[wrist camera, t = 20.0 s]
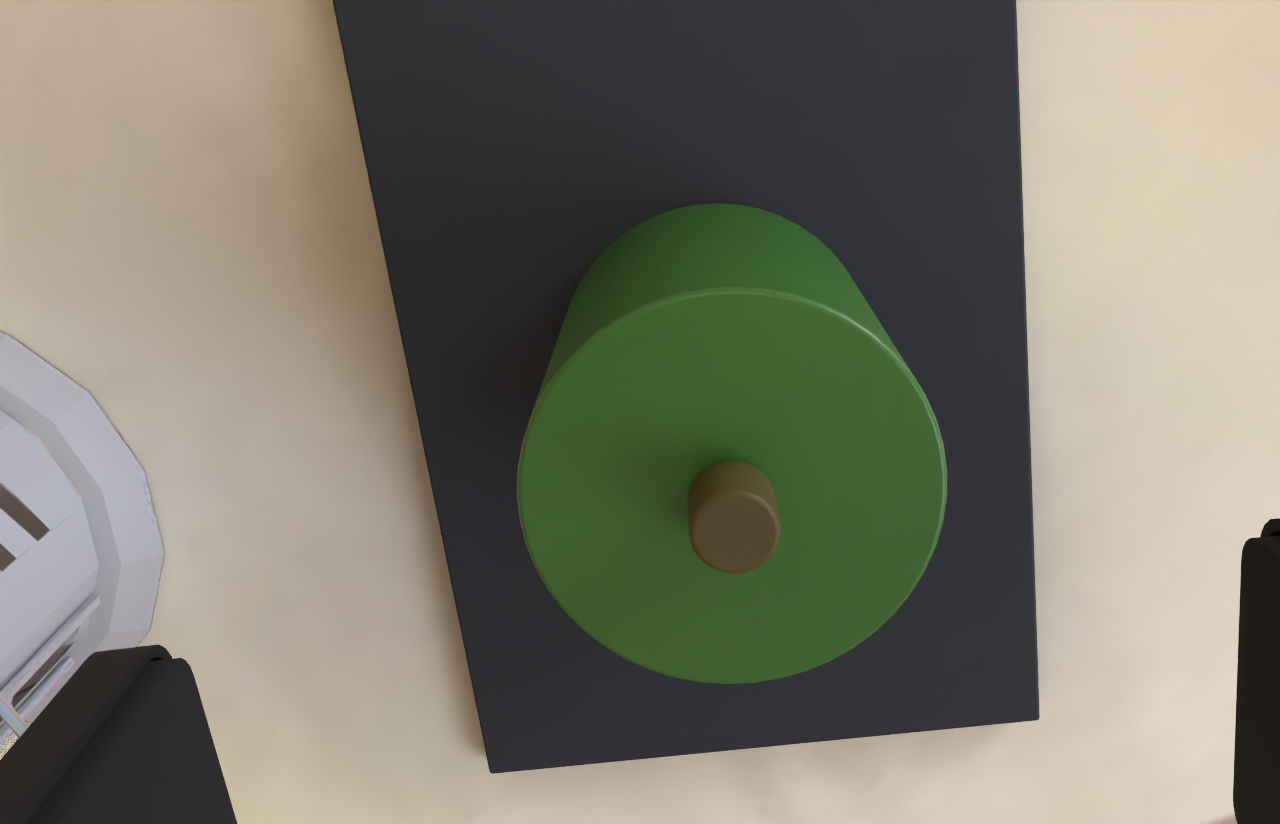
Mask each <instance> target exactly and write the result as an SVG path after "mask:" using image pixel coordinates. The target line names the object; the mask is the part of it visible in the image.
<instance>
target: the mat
mask: <svg viewBox="0 0 1280 824" xmlns="http://www.w3.org/2000/svg"><path fill="white" fill-rule="evenodd" d="M333 5H334V10H335V15H336V20H337V25H338V30H339V35H340V39H341V44H342V49H343V54H344V59H345V64H346V69H347V74H348V79H349V84H350V88H351V93H352V98H353V103H354V108H355V113H356V118H357V123H358V128H359V133H360V138H361V142H362V147H363V152H364V157H365V162H366V167H367V172H368V177H369V182H370V187H371V192H372V196H373V201H374V206H375V211H376V216H377V221H378V226H379V231H380V236H381V241H382V245H383V250H384V255H385V260H386V265H387V270H388V275H389V280H390V285H391V290H392V295H393V299H394V304H395V309H396V314H397V319H398V324H399V329H400V334H401V339H402V344H403V348H404V353H405V358H406V363H407V368H408V373H409V378H410V383H411V388H412V393H413V398H414V402H415V407H416V412H417V417H418V422H419V427H420V432H421V437H422V442H423V447H424V452H425V456H426V461H427V466H428V471H429V476H430V481H431V486H432V491H433V496H434V501H435V505H436V510H437V515H438V520H439V525H440V530H441V535H442V540H443V545H444V550H445V555H446V559H447V564H448V569H449V574H450V579H451V584H452V589H453V594H454V599H455V604H456V608H457V613H458V618H459V623H460V628H461V633H462V638H463V643H464V648H465V653H466V658H467V662H468V667H469V672H470V677H471V682H472V687H473V692H474V697H475V702H476V707H477V712H478V716H479V721H480V726H481V731H482V736H483V741H484V746H485V751H486V756H487V761H488V765H489V770H490V772H491V773H503V772H513V771H523V770H533V769H543V768H554V767H564V766H574V765H584V764H594V763H605V762H615V761H625V760H635V759H645V758H656V757H666V756H676V755H686V754H696V753H707V752H717V751H727V750H737V749H747V748H758V747H768V746H778V745H788V744H798V743H809V742H819V741H829V740H839V739H849V738H860V737H870V736H880V735H890V734H900V733H911V732H921V731H931V730H941V729H951V728H962V727H972V726H982V725H992V724H1002V723H1013V722H1023V721H1033V720H1038V719H1039V689H1038V658H1037V628H1036V597H1035V566H1034V536H1033V505H1032V474H1031V444H1030V413H1029V382H1028V352H1027V321H1026V290H1025V260H1024V229H1023V198H1022V168H1021V137H1020V106H1019V76H1018V45H1017V14H1016V0H333ZM713 203H723V204H738V205H744V206H749V207H754V208H759V209H762V210H765V211H768V212H771V213H774V214H777V215H780V216H782V217H784V218H786V219H788V220H790V221H792V222H794V223H796V224H798V225H799V226H801V227H802V228H804V229H805V230H807V231H808V232H810V233H811V234H813V235H814V236H816V237H817V238H818V239H819V240H820V241H821V242H822V243H823V244H824V245H826V246H827V247H828V248H829V249H830V250H831V251H832V252H833V253H834V255H835V256H836V257H837V258H838V259H839V261H840V262H841V263H842V264H843V265H844V267H845V268H846V270H847V271H848V273H849V275H850V276H851V278H852V279H853V281H854V282H855V284H856V286H857V287H858V289H859V290H860V292H861V294H862V295H863V297H864V298H865V300H866V301H867V303H868V305H869V306H870V308H871V309H872V311H873V312H874V314H875V316H876V317H877V319H878V320H879V322H880V323H881V325H882V327H883V328H884V330H885V331H886V333H887V335H888V336H889V338H890V339H891V341H892V342H893V344H894V346H895V347H896V349H897V350H898V352H899V353H900V355H901V357H902V358H903V360H904V361H905V363H906V364H907V366H908V368H909V369H910V371H911V372H912V374H913V376H914V377H915V379H916V380H917V382H918V384H919V385H920V387H921V388H922V390H923V392H924V393H925V395H926V397H927V399H928V401H929V404H930V406H931V408H932V410H933V413H934V415H935V417H936V419H937V423H938V427H939V430H940V434H941V437H942V441H943V444H944V451H945V459H946V467H947V499H946V505H945V512H944V518H943V524H942V527H941V530H940V534H939V537H938V540H937V544H936V547H935V550H934V552H933V554H932V556H931V558H930V560H929V563H928V565H927V567H926V569H925V571H924V573H923V575H922V576H921V578H920V579H919V581H918V583H917V584H916V586H915V587H914V589H913V590H912V592H911V594H910V595H909V596H908V598H907V599H906V600H905V601H904V602H903V604H902V605H901V606H900V607H899V608H898V610H897V611H896V612H895V613H894V614H893V616H891V617H890V618H889V619H888V620H887V621H886V622H885V623H884V624H883V625H882V626H881V627H880V628H879V629H878V630H876V631H875V632H874V633H873V634H872V635H870V636H869V637H868V638H866V639H865V640H864V641H862V642H861V643H859V644H858V645H857V646H855V647H854V648H852V649H851V650H849V651H847V652H845V653H844V654H842V655H840V656H838V657H836V658H835V659H833V660H831V661H829V662H827V663H824V664H822V665H819V666H817V667H814V668H812V669H810V670H807V671H805V672H801V673H798V674H794V675H790V676H787V677H783V678H780V679H774V680H768V681H761V682H755V683H738V684H719V683H705V682H697V681H691V680H686V679H681V678H675V677H672V676H668V675H665V674H662V673H659V672H656V671H652V670H649V669H647V668H645V667H642V666H640V665H638V664H636V663H633V662H631V661H629V660H627V659H625V658H623V657H621V656H620V655H618V654H616V653H615V652H613V651H611V650H610V649H608V648H606V647H605V646H603V645H602V644H601V643H599V642H598V641H597V640H595V639H594V638H593V637H592V636H590V635H589V634H588V633H586V632H585V631H584V630H583V629H582V628H581V627H580V626H579V625H578V624H577V623H576V622H575V621H574V620H573V619H572V618H571V617H570V616H569V615H568V614H567V613H566V612H565V611H564V610H563V609H562V607H561V606H560V605H559V603H558V602H557V601H556V600H555V598H554V597H553V596H552V594H551V593H550V592H549V590H548V589H547V587H546V585H545V583H544V582H543V580H542V578H541V576H540V575H539V573H538V571H537V570H536V568H535V565H534V563H533V560H532V558H531V555H530V553H529V550H528V548H527V545H526V542H525V538H524V534H523V530H522V526H521V522H520V517H519V508H518V499H517V478H518V464H519V459H520V453H521V447H522V442H523V439H524V436H525V433H526V429H527V426H528V423H529V420H530V417H531V414H532V411H533V409H534V406H535V403H536V400H537V397H538V394H539V391H540V388H541V385H542V383H543V380H544V377H545V374H546V371H547V368H548V365H549V362H550V359H551V357H552V354H553V351H554V348H555V345H556V342H557V339H558V336H559V334H560V331H561V328H562V325H563V322H564V319H565V316H566V313H567V310H568V308H569V305H570V302H571V299H572V297H573V295H574V293H575V291H576V289H577V287H578V285H579V283H580V281H581V280H582V278H583V276H584V275H585V273H586V272H587V270H588V269H589V267H590V266H591V265H592V263H593V262H594V261H595V260H596V259H597V258H598V257H599V255H600V254H601V253H602V252H603V251H604V250H605V249H606V248H607V247H608V246H609V245H611V244H612V243H613V242H614V241H615V240H616V239H617V238H619V237H620V236H621V235H623V234H624V233H626V232H627V231H629V230H630V229H632V228H633V227H635V226H636V225H638V224H640V223H642V222H644V221H646V220H648V219H650V218H652V217H654V216H656V215H659V214H662V213H665V212H668V211H671V210H674V209H677V208H682V207H687V206H692V205H697V204H713Z"/></svg>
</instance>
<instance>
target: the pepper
mask: <svg viewBox="0 0 1280 824" xmlns="http://www.w3.org/2000/svg"><path fill="white" fill-rule="evenodd" d="M517 499H518V508H519V517H520V522H521V526H522V530H523V534H524V538H525V542H526V545H527V548H528V550H529V553H530V555H531V558H532V560H533V563H534V565H535V568H536V570H537V571H538V573H539V575H540V576H541V578H542V580H543V582H544V583H545V585H546V587H547V589H548V590H549V592H550V593H551V594H552V596H553V597H554V598H555V600H556V601H557V602H558V603H559V605H560V606H561V607H562V609H563V610H564V611H565V612H566V613H567V614H568V615H569V616H570V617H571V618H572V619H573V620H574V621H575V622H576V623H577V624H578V625H579V626H580V627H581V628H582V629H583V630H584V631H585V632H586V633H588V634H589V635H590V636H592V637H593V638H594V639H595V640H597V641H598V642H599V643H601V644H602V645H603V646H605V647H606V648H608V649H610V650H611V651H613V652H615V653H616V654H618V655H620V656H621V657H623V658H625V659H627V660H629V661H631V662H633V663H636V664H638V665H640V666H642V667H645V668H647V669H649V670H652V671H656V672H659V673H662V674H665V675H668V676H672V677H675V678H681V679H686V680H691V681H697V682H705V683H719V684H738V683H755V682H761V681H768V680H774V679H780V678H783V677H787V676H790V675H794V674H798V673H801V672H805V671H807V670H810V669H812V668H814V667H817V666H819V665H822V664H824V663H827V662H829V661H831V660H833V659H835V658H836V657H838V656H840V655H842V654H844V653H845V652H847V651H849V650H851V649H852V648H854V647H855V646H857V645H858V644H859V643H861V642H862V641H864V640H865V639H866V638H868V637H869V636H870V635H872V634H873V633H874V632H875V631H876V630H878V629H879V628H880V627H881V626H882V625H883V624H884V623H885V622H886V621H887V620H888V619H889V618H890V617H891V616H893V614H894V613H895V612H896V611H897V610H898V608H899V607H900V606H901V605H902V604H903V602H904V601H905V600H906V599H907V598H908V596H909V595H910V594H911V592H912V590H913V589H914V587H915V586H916V584H917V583H918V581H919V579H920V578H921V576H922V575H923V573H924V571H925V569H926V567H927V565H928V563H929V560H930V558H931V556H932V554H933V552H934V550H935V547H936V544H937V540H938V537H939V534H940V530H941V527H942V524H943V518H944V512H945V505H946V499H947V467H946V459H945V451H944V444H943V441H942V437H941V434H940V430H939V427H938V423H937V419H936V417H935V415H934V413H933V410H932V408H931V406H930V404H929V401H928V399H927V397H926V395H925V393H924V392H923V390H922V388H921V387H920V385H919V384H918V382H917V380H916V379H915V377H914V376H913V374H912V372H911V371H910V369H909V368H908V366H907V364H906V363H905V361H904V360H903V358H902V357H901V355H900V353H899V352H898V350H897V349H896V347H895V346H894V344H893V342H892V341H891V339H890V338H889V336H888V335H887V333H886V331H885V330H884V328H883V327H882V325H881V323H880V322H879V320H878V319H877V317H876V316H875V314H874V312H873V311H872V309H871V308H870V306H869V305H868V303H867V301H866V300H865V298H864V297H863V295H862V294H861V292H860V290H859V289H858V287H857V286H856V284H855V282H854V281H853V279H852V278H851V276H850V275H849V273H848V271H847V270H846V268H845V267H844V265H843V264H842V263H841V262H840V261H839V259H838V258H837V257H836V256H835V255H834V253H833V252H832V251H831V250H830V249H829V248H828V247H827V246H826V245H824V244H823V243H822V242H821V241H820V240H819V239H818V238H817V237H816V236H814V235H813V234H811V233H810V232H808V231H807V230H805V229H804V228H802V227H801V226H799V225H798V224H796V223H794V222H792V221H790V220H788V219H786V218H784V217H782V216H780V215H777V214H774V213H771V212H768V211H765V210H762V209H759V208H754V207H749V206H744V205H738V204H723V203H713V204H697V205H692V206H687V207H682V208H677V209H674V210H671V211H668V212H665V213H662V214H659V215H656V216H654V217H652V218H650V219H648V220H646V221H644V222H642V223H640V224H638V225H636V226H635V227H633V228H632V229H630V230H629V231H627V232H626V233H624V234H623V235H621V236H620V237H619V238H617V239H616V240H615V241H614V242H613V243H612V244H611V245H609V246H608V247H607V248H606V249H605V250H604V251H603V252H602V253H601V254H600V255H599V257H598V258H597V259H596V260H595V261H594V262H593V263H592V265H591V266H590V267H589V269H588V270H587V272H586V273H585V275H584V276H583V278H582V280H581V281H580V283H579V285H578V287H577V289H576V291H575V293H574V295H573V297H572V299H571V302H570V305H569V308H568V310H567V313H566V316H565V319H564V322H563V325H562V328H561V331H560V334H559V336H558V339H557V342H556V345H555V348H554V351H553V354H552V357H551V359H550V362H549V365H548V368H547V371H546V374H545V377H544V380H543V383H542V385H541V388H540V391H539V394H538V397H537V400H536V403H535V406H534V409H533V411H532V414H531V417H530V420H529V423H528V426H527V429H526V433H525V436H524V439H523V442H522V447H521V453H520V459H519V464H518V478H517Z"/></svg>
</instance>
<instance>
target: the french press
mask: <svg viewBox="0 0 1280 824" xmlns="http://www.w3.org/2000/svg"><path fill="white" fill-rule="evenodd" d="M163 558H164V549H163V545H162V541H161V537H160V533H159V529H158V525H157V521H156V517H155V513H154V509H153V505H152V501H151V497H150V493H149V489H148V484H147V480H146V476H145V472H144V469H143V468H142V466H141V465H140V464H139V462H138V461H137V459H136V458H135V457H134V455H133V454H132V452H131V451H130V449H129V448H128V447H127V445H126V444H125V442H124V441H123V440H122V438H121V437H120V435H119V434H118V432H117V431H116V430H115V428H114V427H113V425H112V424H111V423H110V421H109V420H108V418H107V417H106V415H105V414H104V413H103V411H102V410H101V408H100V407H99V406H98V404H97V403H96V401H95V400H94V398H93V397H92V396H91V394H90V393H89V392H88V391H87V390H85V389H84V388H82V387H81V386H80V385H78V384H77V383H75V382H74V381H73V380H71V379H70V378H68V377H67V376H66V375H64V374H63V373H61V372H60V371H59V370H57V369H56V368H54V367H53V366H52V365H50V364H49V363H47V362H46V361H44V360H43V359H42V358H40V357H39V356H37V355H36V354H35V353H33V352H32V351H30V350H29V349H28V348H26V347H25V346H23V345H22V344H21V343H19V342H18V341H16V340H15V339H14V338H12V337H11V336H9V335H8V334H5V333H2V332H0V747H1V746H2V744H3V743H4V742H5V741H6V740H7V739H8V738H9V737H10V735H11V734H12V733H13V732H14V733H15V734H16V735H17V736H18V738H20V736H21V735H22V734H23V733H24V732H25V731H26V729H27V728H28V727H29V725H28V724H27V722H33V721H34V720H35V719H36V718H37V716H38V715H39V714H40V713H41V712H42V711H43V709H44V708H45V707H46V706H47V705H48V704H49V702H50V701H51V700H52V699H53V698H54V696H55V695H56V694H57V693H58V692H59V691H60V689H61V688H62V687H63V686H64V685H65V683H66V682H67V681H68V680H69V679H70V678H71V676H72V675H73V674H74V673H75V672H76V671H77V669H78V668H79V667H80V666H81V665H82V663H83V662H84V661H85V660H86V659H87V658H88V657H89V656H90V655H91V654H93V653H94V652H98V651H106V650H115V649H124V648H133V647H137V645H138V644H139V643H140V641H141V640H142V639H143V638H144V636H145V635H146V634H147V632H148V631H149V630H150V626H151V621H152V616H153V611H154V605H155V600H156V595H157V590H158V584H159V579H160V574H161V569H162V564H163Z"/></svg>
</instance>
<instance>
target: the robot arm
mask: <svg viewBox="0 0 1280 824" xmlns="http://www.w3.org/2000/svg"><path fill="white" fill-rule="evenodd" d="M1233 803H1234V811H1235V816H1236V820H1237V823H1238V824H1280V518H1279V519H1270V520H1269V521H1268V522H1267V523H1266V524H1265V525H1264V528H1263V530H1262V533H1261V537H1259V538H1250V539H1248V540H1247V541H1246V542H1245V545H1244V547H1243V551H1242V559H1241V587H1240V616H1239V644H1238V673H1237V701H1236V730H1235V758H1234V787H1233ZM0 824H237V821H236V818H235V814H234V811H233V808H232V804H231V801H230V797H229V794H228V791H227V787H226V784H225V780H224V777H223V773H222V770H221V767H220V763H219V760H218V756H217V753H216V750H215V746H214V743H213V739H212V736H211V733H210V729H209V726H208V722H207V719H206V716H205V712H204V709H203V705H202V702H201V699H200V695H199V692H198V688H197V685H196V681H195V678H194V675H193V672H192V670H191V667H190V666H189V664H188V663H187V661H186V660H184V659H182V658H177V659H172V656H171V655H170V654H169V652H168V651H167V650H166V648H164V647H162V646H160V645H151V646H142V647H133V648H124V649H115V650H106V651H98V652H94V653H93V654H91V655H90V656H89V657H88V658H87V659H86V660H85V661H84V662H83V663H82V665H81V666H80V667H79V668H78V669H77V671H76V672H75V673H74V674H73V675H72V676H71V678H70V679H69V680H68V681H67V682H66V683H65V685H64V686H63V687H62V688H61V689H60V691H59V692H58V693H57V694H56V695H55V696H54V698H53V699H52V700H51V701H50V702H49V704H48V705H47V706H46V707H45V708H44V709H43V711H42V712H41V713H40V714H39V715H38V716H37V718H36V719H35V720H34V721H33V722H32V724H31V725H30V726H29V727H28V728H27V729H26V731H25V732H24V733H23V734H22V735H21V736H20V738H19V739H18V740H17V741H16V742H15V744H14V745H13V746H12V747H11V748H10V749H9V751H8V752H7V753H6V754H5V755H4V757H3V758H2V759H1V760H0Z"/></svg>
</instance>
